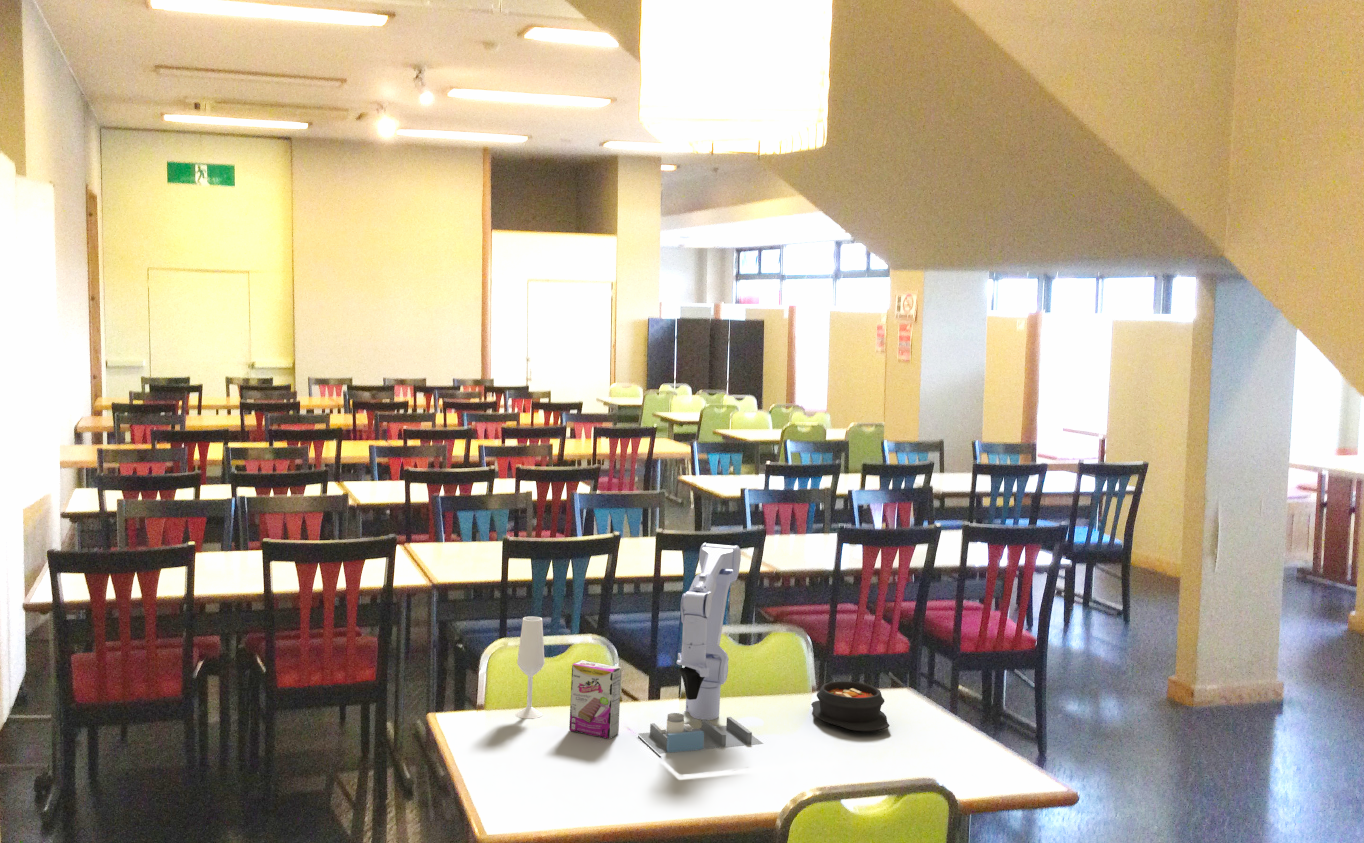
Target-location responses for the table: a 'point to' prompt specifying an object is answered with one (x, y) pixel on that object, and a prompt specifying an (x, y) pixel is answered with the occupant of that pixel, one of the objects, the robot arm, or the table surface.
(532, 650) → the champagne flute
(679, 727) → the cream rounded cylinder
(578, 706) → the candy bar box
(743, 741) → the grey slotted rack
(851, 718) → the casserole
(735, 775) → the table surface
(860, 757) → the table surface
